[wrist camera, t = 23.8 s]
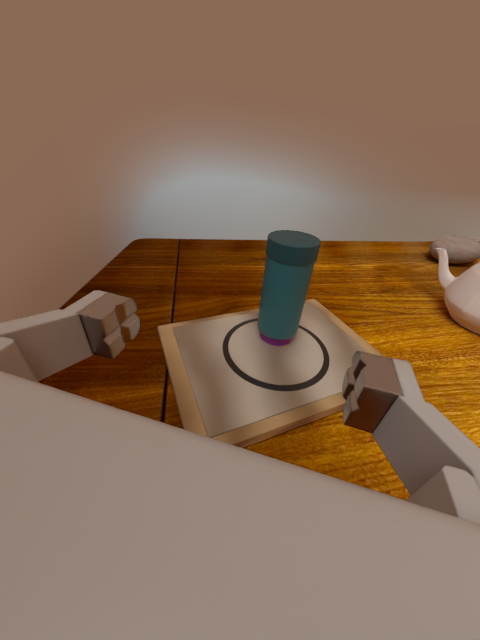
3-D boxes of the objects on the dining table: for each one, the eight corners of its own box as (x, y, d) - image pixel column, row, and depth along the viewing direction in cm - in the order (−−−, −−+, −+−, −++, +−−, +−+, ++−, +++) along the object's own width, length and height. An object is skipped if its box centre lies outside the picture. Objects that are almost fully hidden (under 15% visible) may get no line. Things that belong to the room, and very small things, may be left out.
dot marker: (266, 353, 26) (285, 249, 20) (248, 327, 30) (259, 231, 23) (304, 344, 28) (332, 245, 22) (282, 320, 31) (301, 229, 25)
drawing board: (192, 467, 18) (191, 456, 17) (158, 334, 30) (156, 323, 29) (406, 386, 26) (413, 376, 25) (312, 305, 38) (315, 296, 37)
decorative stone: (456, 273, 52) (471, 249, 49) (414, 256, 58) (425, 234, 56) (485, 264, 58) (500, 242, 55) (444, 250, 64) (455, 230, 61)
